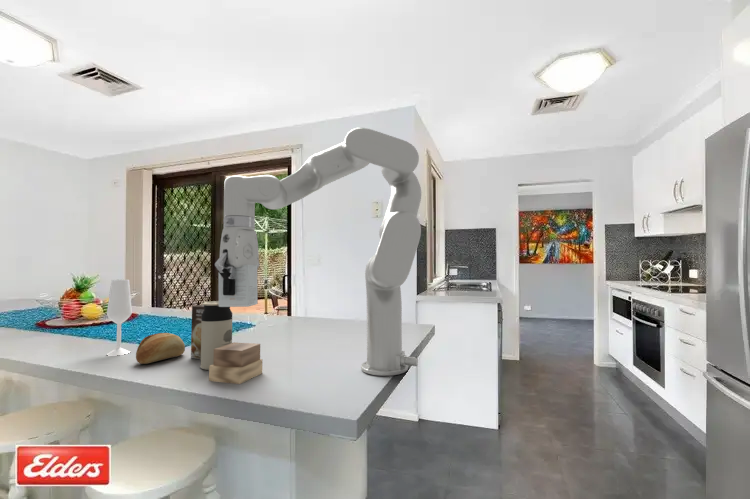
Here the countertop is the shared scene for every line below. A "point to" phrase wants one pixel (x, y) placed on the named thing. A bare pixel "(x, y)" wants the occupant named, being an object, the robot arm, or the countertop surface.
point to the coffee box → (196, 331)
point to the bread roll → (159, 348)
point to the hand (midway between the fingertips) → (238, 293)
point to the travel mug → (214, 331)
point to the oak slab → (235, 373)
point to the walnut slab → (236, 354)
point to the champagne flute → (119, 310)
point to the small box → (241, 288)
